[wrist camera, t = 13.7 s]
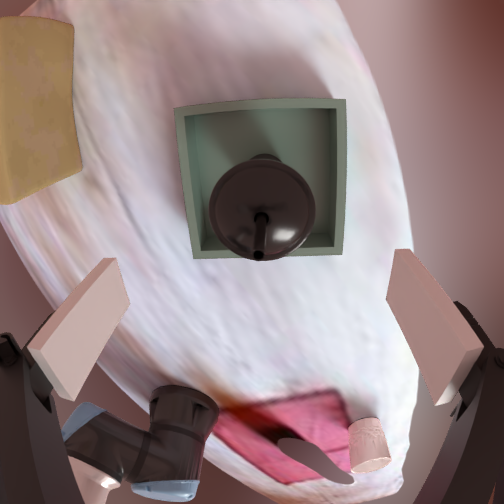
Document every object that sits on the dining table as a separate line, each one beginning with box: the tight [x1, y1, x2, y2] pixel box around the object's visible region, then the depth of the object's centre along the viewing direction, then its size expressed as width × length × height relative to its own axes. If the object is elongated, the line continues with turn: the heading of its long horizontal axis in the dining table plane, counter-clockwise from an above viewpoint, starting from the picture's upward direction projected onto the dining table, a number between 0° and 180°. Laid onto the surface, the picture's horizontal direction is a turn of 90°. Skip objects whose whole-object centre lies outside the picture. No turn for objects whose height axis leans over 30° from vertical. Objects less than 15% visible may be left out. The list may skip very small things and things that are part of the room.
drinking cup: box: [208, 154, 316, 261], centre depth 24 cm, size 8×8×20 cm
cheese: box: [0, 16, 82, 205], centre depth 23 cm, size 22×10×15 cm, turn 173°
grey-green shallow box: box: [174, 98, 347, 259], centre depth 31 cm, size 17×17×5 cm
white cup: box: [348, 417, 392, 473], centre depth 52 cm, size 10×9×12 cm
